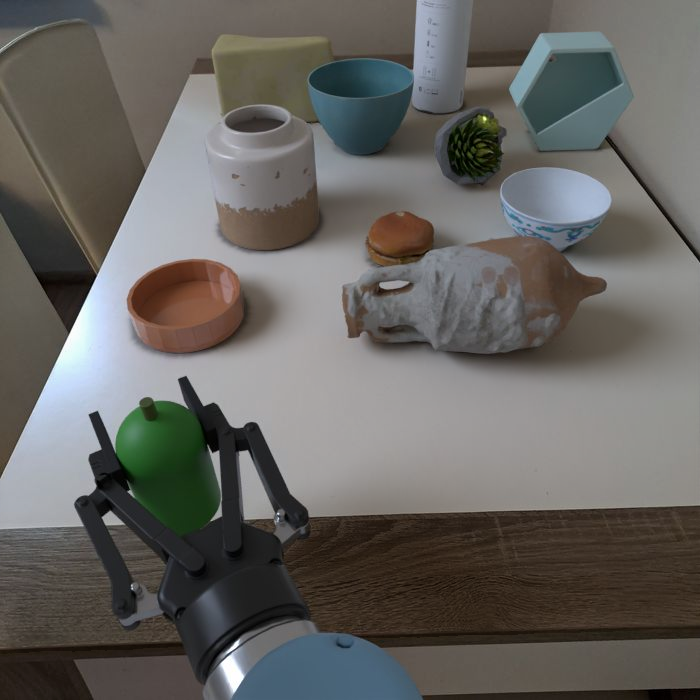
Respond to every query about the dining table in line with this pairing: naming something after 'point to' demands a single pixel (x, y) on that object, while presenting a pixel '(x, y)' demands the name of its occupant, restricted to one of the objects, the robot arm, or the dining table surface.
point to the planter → (571, 90)
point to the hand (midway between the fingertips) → (142, 405)
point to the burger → (399, 239)
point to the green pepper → (169, 464)
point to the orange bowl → (186, 305)
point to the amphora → (472, 297)
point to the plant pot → (361, 101)
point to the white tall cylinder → (441, 54)
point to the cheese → (268, 71)
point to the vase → (263, 177)
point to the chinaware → (554, 204)
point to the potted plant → (470, 146)
